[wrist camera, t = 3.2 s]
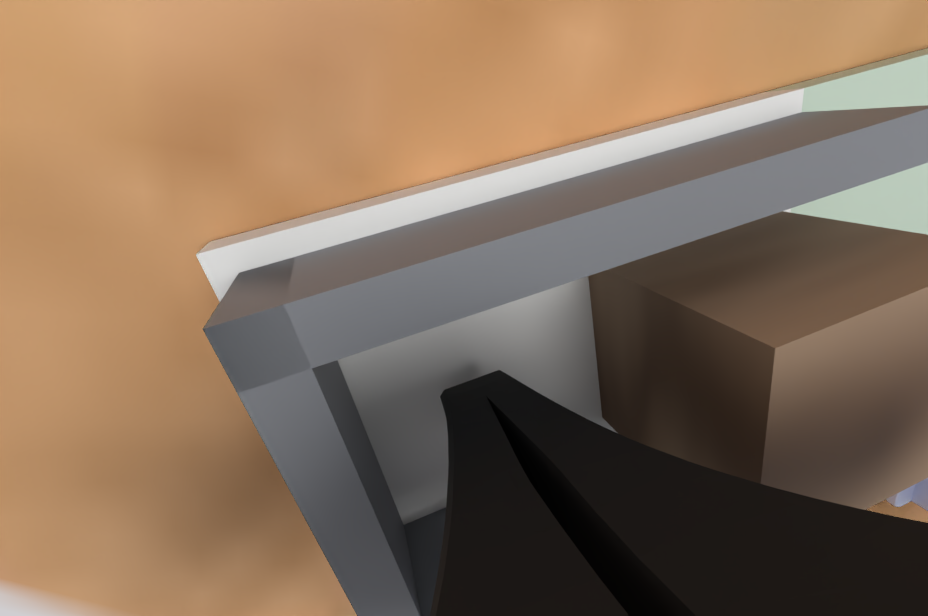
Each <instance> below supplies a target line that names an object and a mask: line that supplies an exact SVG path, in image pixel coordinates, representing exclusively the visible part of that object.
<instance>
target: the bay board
mask: <svg viewBox="0 0 928 616" xmlns="http://www.w3.org/2000/svg"><path fill="white" fill-rule="evenodd" d="M782 211H784V212H790V213H796V214H803V215H809V216H815V217H821V218H828V219H834V220H840V221H846V222H852V223H859V224H865V225H871V226H877V227H884V228H890V229H896V230H902V231H908V232H915V233H921V234H927V235H928V48H926V49H922V50H919V51H915V52H911V53H907V54H904V55H900V56H896V57H893V58H889V59H885V60H881V61H878V62H874V63H870V64H867V65H863V66H859V67H856V68H852V69H848V70H844V71H841V72H837V73H833V74H830V75H826V76H822V77H818V78H815V79H811V80H807V81H804V82H800V83H796V84H793V85H789V86H785V87H781V88H778V89H774V90H770V91H767V92H763V93H759V94H755V95H752V96H748V97H744V98H741V99H737V100H733V101H729V102H726V103H722V104H718V105H715V106H711V107H707V108H704V109H700V110H696V111H692V112H689V113H685V114H681V115H678V116H674V117H670V118H666V119H663V120H659V121H655V122H652V123H648V124H644V125H641V126H637V127H633V128H629V129H626V130H622V131H618V132H615V133H611V134H607V135H603V136H600V137H596V138H592V139H589V140H585V141H581V142H577V143H574V144H570V145H566V146H563V147H559V148H555V149H552V150H548V151H544V152H540V153H537V154H533V155H529V156H526V157H522V158H518V159H514V160H511V161H507V162H503V163H500V164H496V165H492V166H489V167H485V168H481V169H477V170H474V171H470V172H466V173H463V174H459V175H455V176H451V177H448V178H444V179H440V180H437V181H433V182H429V183H425V184H422V185H418V186H414V187H411V188H407V189H403V190H400V191H396V192H392V193H388V194H385V195H381V196H377V197H374V198H370V199H366V200H362V201H359V202H355V203H351V204H348V205H344V206H340V207H337V208H333V209H329V210H325V211H322V212H318V213H314V214H311V215H307V216H303V217H299V218H296V219H292V220H288V221H285V222H281V223H277V224H273V225H270V226H266V227H262V228H259V229H255V230H251V231H248V232H244V233H240V234H236V235H233V236H229V237H225V238H222V239H218V240H214V241H210V242H209V243H208V244H207V245H206V246H204V247H203V248H202V249H201V250H200V251H199V252H198V253H197V254H196V256H197V258H198V260H199V262H200V264H201V266H202V268H203V270H204V272H205V274H206V276H207V278H208V280H209V282H210V284H211V286H212V288H213V290H214V292H215V294H216V296H217V298H218V300H219V302H220V303H219V304H218V306H217V308H216V309H215V311H214V312H213V314H212V315H211V317H210V318H209V320H208V322H207V323H206V325H205V326H204V328H203V331H204V332H205V334H206V336H207V338H208V340H209V342H210V344H211V345H212V347H213V349H214V351H215V353H216V355H217V356H218V358H219V360H220V362H221V364H222V366H223V368H224V369H225V371H226V373H227V375H228V377H229V379H230V381H231V382H232V384H233V386H234V388H235V390H236V392H237V394H238V395H239V397H240V399H241V401H242V403H243V405H244V407H245V408H246V410H247V412H248V414H249V416H250V418H251V419H252V421H253V423H254V425H255V427H256V429H257V431H258V432H259V434H260V436H261V438H262V440H263V442H264V444H265V445H266V447H267V449H268V451H269V453H270V455H271V457H272V458H273V460H274V462H275V464H276V466H277V468H278V470H279V471H280V473H281V475H282V477H283V479H284V481H285V482H286V484H287V486H288V488H289V490H290V492H291V494H292V495H293V497H294V499H295V501H296V503H297V505H298V507H299V508H300V510H301V512H302V514H303V516H304V518H305V520H306V521H307V523H308V525H309V527H310V529H311V531H312V533H313V534H314V536H315V538H316V540H317V542H318V544H319V545H320V547H321V549H322V551H323V553H324V555H325V557H326V558H327V560H328V562H329V564H330V566H331V568H332V570H333V571H334V573H335V575H336V577H337V579H338V581H339V583H340V584H341V586H342V588H343V590H344V592H345V594H346V596H347V597H348V599H349V601H350V603H351V605H352V607H353V609H354V610H355V612H356V614H357V616H430V612H431V607H432V601H433V596H434V591H435V585H436V580H437V574H438V568H439V562H440V555H441V548H442V541H443V533H444V524H445V515H446V503H447V486H448V465H449V460H448V430H447V420H446V415H445V412H444V408H443V405H442V402H441V398H440V396H441V394H442V392H443V391H444V390H445V389H448V388H450V387H453V386H456V385H459V384H461V383H464V382H467V381H470V380H472V379H475V378H478V377H481V376H483V375H486V374H489V373H492V372H494V371H497V370H501V371H502V372H504V373H506V374H508V375H510V376H511V377H513V378H515V379H516V380H518V381H520V382H521V383H523V384H525V385H526V386H528V387H530V388H531V389H533V390H535V391H536V392H538V393H540V394H542V395H543V396H545V397H547V398H549V399H550V400H552V401H554V402H556V403H558V404H560V405H561V406H563V407H565V408H567V409H569V410H571V411H573V412H575V413H577V414H579V415H580V416H582V417H584V418H586V419H588V420H590V421H592V422H594V423H596V424H599V425H601V426H603V427H605V428H607V429H609V430H611V431H614V432H616V431H615V430H614V429H613V428H612V427H611V426H610V425H609V424H608V423H607V422H606V421H605V420H604V419H603V418H602V410H601V400H600V390H599V380H598V370H597V360H596V350H595V339H594V329H593V319H592V309H591V299H590V289H589V279H588V276H590V275H593V274H596V273H599V272H602V271H605V270H608V269H611V268H614V267H617V266H620V265H623V264H626V263H629V262H632V261H635V260H638V259H641V258H644V257H647V256H650V255H653V254H656V253H659V252H662V251H665V250H668V249H671V248H674V247H677V246H680V245H683V244H686V243H689V242H692V241H695V240H698V239H701V238H704V237H707V236H710V235H713V234H716V233H719V232H722V231H725V230H728V229H731V228H734V227H737V226H740V225H743V224H746V223H749V222H752V221H755V220H758V219H761V218H764V217H767V216H770V215H773V214H776V213H779V212H782ZM616 433H617V432H616Z"/></svg>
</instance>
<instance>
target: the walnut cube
mask: <svg viewBox="0 0 928 616" xmlns="http://www.w3.org/2000/svg"><path fill="white" fill-rule="evenodd" d="M588 279H589V289H590V299H591V309H592V319H593V329H594V339H595V350H596V360H597V370H598V380H599V390H600V400H601V410H602V418H603V419H604V420H605V421H606V422H607V423H608V424H609V425H610V426H611V427H612V428H613V429H614V430H615V431H616V432H617V433H618V434H620V435H623V436H625V437H627V438H629V439H632V440H634V441H637V442H639V443H641V444H644V445H646V446H649V447H652V448H654V449H657V450H660V451H662V452H665V453H668V454H670V455H673V456H676V457H679V458H681V459H684V460H687V461H689V462H692V463H695V464H698V465H701V466H704V467H707V468H710V469H713V470H716V471H720V472H723V473H726V474H730V475H733V476H736V477H740V478H743V479H746V480H750V481H753V482H757V483H760V484H763V485H767V486H770V487H774V488H777V489H781V490H785V491H789V492H793V493H796V494H800V495H804V496H808V497H812V498H816V499H820V500H824V501H829V502H833V503H837V504H841V505H846V506H850V507H854V508H859V509H863V510H866V509H868V508H870V507H872V506H874V505H876V504H878V503H879V502H881V501H883V500H885V499H887V498H889V497H891V496H893V495H895V494H897V493H899V492H901V491H903V490H905V489H907V488H909V487H911V486H913V485H915V484H917V483H919V482H920V481H922V480H924V479H926V478H928V235H927V234H921V233H915V232H908V231H902V230H896V229H890V228H884V227H877V226H871V225H865V224H859V223H852V222H846V221H840V220H834V219H828V218H821V217H815V216H809V215H803V214H796V213H790V212H784V211H782V212H779V213H776V214H773V215H770V216H767V217H764V218H761V219H758V220H755V221H752V222H749V223H746V224H743V225H740V226H737V227H734V228H731V229H728V230H725V231H722V232H719V233H716V234H713V235H710V236H707V237H704V238H701V239H698V240H695V241H692V242H689V243H686V244H683V245H680V246H677V247H674V248H671V249H668V250H665V251H662V252H659V253H656V254H653V255H650V256H647V257H644V258H641V259H638V260H635V261H632V262H629V263H626V264H623V265H620V266H617V267H614V268H611V269H608V270H605V271H602V272H599V273H596V274H593V275H590V276H588Z"/></svg>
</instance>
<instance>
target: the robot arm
mask: <svg viewBox="0 0 928 616" xmlns="http://www.w3.org/2000/svg"><path fill="white" fill-rule="evenodd" d="M440 398H441V402H442V405H443V408H444V412H445V415H446V420H447V430H448V460H449V465H448V486H447V503H446V515H445V524H444V533H443V541H442V548H441V555H440V562H439V568H438V574H437V580H436V585H435V591H434V596H433V601H432V607H431V612H430V616H928V523H925V522H920V521H915V520H909V519H904V518H899V517H894V516H889V515H885V514H880V513H876V512H871V511H867V510H863V509H859V508H854V507H850V506H846V505H841V504H837V503H833V502H829V501H824V500H820V499H816V498H812V497H808V496H804V495H800V494H796V493H793V492H789V491H785V490H781V489H777V488H774V487H770V486H767V485H763V484H760V483H757V482H753V481H750V480H746V479H743V478H740V477H736V476H733V475H730V474H726V473H723V472H720V471H716V470H713V469H710V468H707V467H704V466H701V465H698V464H695V463H692V462H689V461H687V460H684V459H681V458H679V457H676V456H673V455H670V454H668V453H665V452H662V451H660V450H657V449H654V448H652V447H649V446H646V445H644V444H641V443H639V442H637V441H634V440H632V439H629V438H627V437H625V436H623V435H620V434H618V433H616V432H614V431H611V430H609V429H607V428H605V427H603V426H601V425H599V424H596V423H594V422H592V421H590V420H588V419H586V418H584V417H582V416H580V415H579V414H577V413H575V412H573V411H571V410H569V409H567V408H565V407H563V406H561V405H560V404H558V403H556V402H554V401H552V400H550V399H549V398H547V397H545V396H543V395H542V394H540V393H538V392H536V391H535V390H533V389H531V388H530V387H528V386H526V385H525V384H523V383H521V382H520V381H518V380H516V379H515V378H513V377H511V376H510V375H508V374H506V373H504V372H502V371H501V370H497V371H494V372H492V373H489V374H486V375H483V376H481V377H478V378H475V379H472V380H470V381H467V382H464V383H461V384H459V385H456V386H453V387H450V388H448V389H445V390H444V391H443V392H442V394H441V396H440ZM886 500H887V501H888V502H889V503H891V504H892V505H894V506H895V507H900V506H903V505H905V504H907V503H908V502H910V501H912V502H914V503H915V504H917V505H919V506H920V507H922V508H924V509H925V510H927V511H928V478H926V479H924V480H922V481H920V482H919V483H917V484H915V485H913V486H911V487H909V488H907V489H905V490H903V491H901V492H899V493H897V494H895V495H893V496H891V497H889V498H887V499H886Z"/></svg>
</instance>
